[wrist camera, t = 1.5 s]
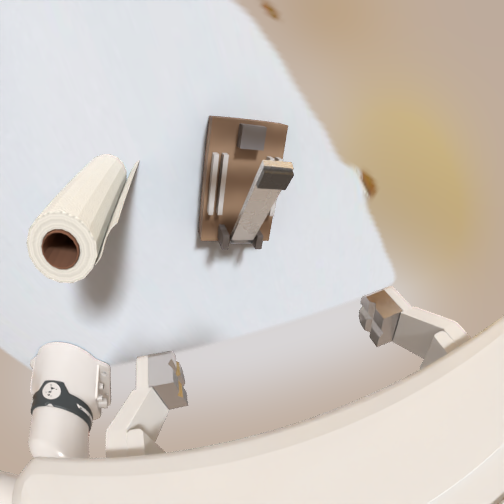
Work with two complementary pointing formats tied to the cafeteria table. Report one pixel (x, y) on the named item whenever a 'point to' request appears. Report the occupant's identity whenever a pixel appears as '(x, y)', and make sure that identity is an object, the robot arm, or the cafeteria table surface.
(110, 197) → the paper towel roll
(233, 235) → the beige-grey bar
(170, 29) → the cafeteria table surface
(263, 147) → the wooden base lever press
